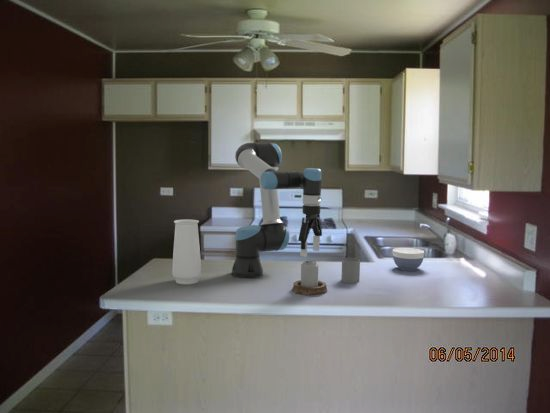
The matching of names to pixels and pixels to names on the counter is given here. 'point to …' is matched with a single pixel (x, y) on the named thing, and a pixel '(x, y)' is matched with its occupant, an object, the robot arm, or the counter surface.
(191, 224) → the vase
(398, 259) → the bowl
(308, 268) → the can
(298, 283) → the tray
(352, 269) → the cup
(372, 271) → the counter surface
